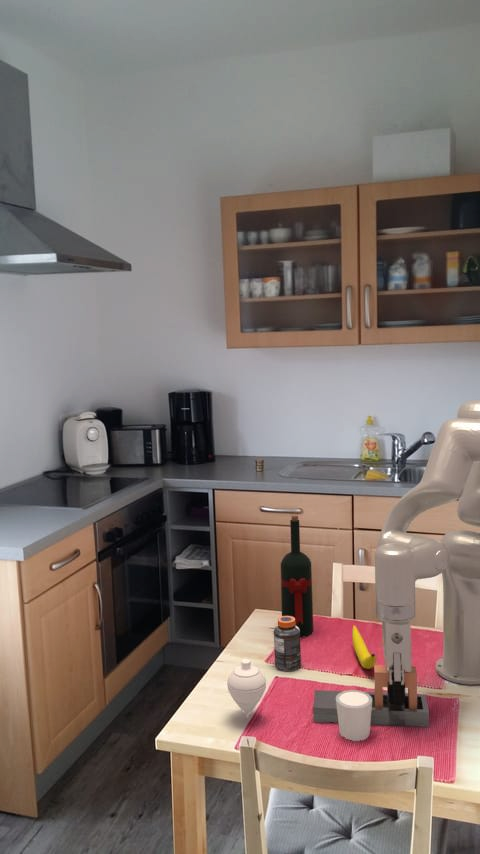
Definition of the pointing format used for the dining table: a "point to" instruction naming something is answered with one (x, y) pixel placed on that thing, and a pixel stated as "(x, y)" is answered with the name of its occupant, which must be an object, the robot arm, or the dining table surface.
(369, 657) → the banana
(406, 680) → the orange block
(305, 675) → the dining table surface
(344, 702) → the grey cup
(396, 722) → the grey slotted block
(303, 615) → the wine bottle
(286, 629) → the pill bottle
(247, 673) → the spinning top
